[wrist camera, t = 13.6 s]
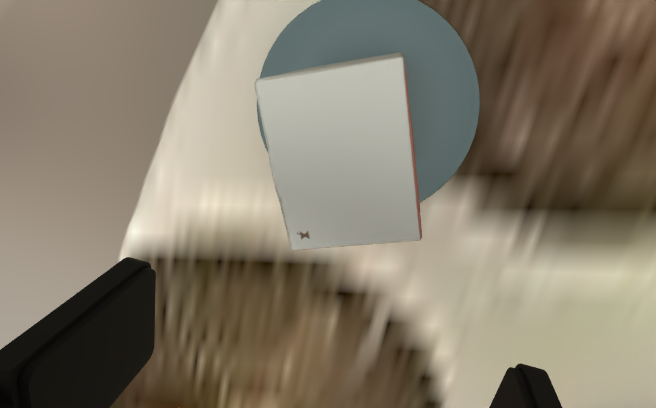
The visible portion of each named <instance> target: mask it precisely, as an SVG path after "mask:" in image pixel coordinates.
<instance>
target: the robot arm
mask: <svg viewBox="0 0 656 408" xmlns="http://www.w3.org/2000/svg"><path fill="white" fill-rule="evenodd" d="M155 279H156V274H155V271H154V270H153V269H151V265H150V263H148V262H145V261H141V260H137V259H134V258H130V257H127V258H125V259H123V260H122V261H120V262H119V263H117V264H116V265H115V266H113V267H112V268H111V269H110V270H108V271H107V272H105V273H104V274H103V275H101V276H100V277H98V278H97V279H96V280H94V281H93V282H92V283H90V284H89V285H88V286H86V287H85V288H84V289H82V290H81V291H80V292H78V293H77V294H76V295H74V296H73V297H71V298H70V299H69V300H67V301H66V302H65V303H63V304H62V305H61V306H59V307H58V308H57V309H55V310H54V311H52V312H51V313H50V314H48V315H47V316H46V317H44V318H43V319H42V320H40V321H39V322H37V323H36V324H35V325H33V326H32V327H31V328H29V329H28V330H27V331H25V332H24V333H23V334H21V335H20V336H18V337H17V338H16V339H14V340H13V341H12V342H11V343H9V344H8V345H6V346H5V347H4V348H2V349H1V350H0V408H109V407H110V406H111V405H112V404H113V403H114V401H115V400H116V399H117V398H118V397H119V395H120V394H121V393H122V392H123V391H124V389H125V388H126V387H127V386H128V385H129V383H130V382H131V381H132V380H133V379H134V377H135V376H136V375H137V374H138V373H139V371H140V370H141V369H142V368H143V367H144V365H145V364H146V363H147V362H148V360H149V359H150V357H151V355H152V353H153V350H154V328H155ZM489 408H562V406H561V404H560V401H559V399H558V397H557V395H556V392H555V390H554V388H553V385H552V383H551V381H550V378H549V376H548V374H547V373H546V371H544V370H542V369H539V368H535V367H531V366H528V365H524V364H518V365H517V366H516V367H515V368H512V367H510V368H508V370H507V371H506V374H505V376H504V378H503V380H502V382H501V384H500V386H499V388H498V390H497V393H496V395H495V397H494V399H493V401H492V403H491V405H490V407H489Z"/></svg>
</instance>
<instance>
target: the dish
mask: <svg viewBox="0 0 656 408" xmlns="http://www.w3.org/2000/svg"><path fill="white" fill-rule="evenodd" d="M398 52H401V53H402V55H403V58H404V61H405V70H406V77H407V86H408V96H409V106H410V114H411V122H412V131H413V141H414V151H415V160H416V170H417V180H418V192H419V203H420V202H421V201H423V200H425V199H426V198H428V197H429V196H431V195H432V194H434V193H435V192H436V191H437V190H439V189H440V188H441V187H442V186H443V185H444V184H445V183H446V182H447V181H448V180H449V179H450V178H451V177H452V176H453V175H454V173H455V172H456V171H457V169H458V168H459V166H460V165H461V164H462V162H463V160H464V158H465V156H466V155H467V153H468V151H469V149H470V146H471V144H472V141H473V139H474V136H475V132H476V128H477V124H478V117H479V108H480V99H479V86H478V80H477V74H476V71H475V68H474V65H473V61H472V59H471V57H470V55H469V52H468V50H467V48H466V46H465V44H464V43H463V41H462V40H461V38H460V37H459V35H458V34H457V32H456V31H455V30H454V29H453V28H452V27H451V26H450V24H449V23H448V22H447V21H446V20H445V19H444V18H443V17H441V16H440V15H439V14H438V13H437V12H435V11H434V10H433V9H431V8H430V7H428V6H426V5H425V4H423V3H421V2H420V1H418V0H321V1H319V2H317V3H316V4H314V5H312V6H310V7H309V8H307V9H306V10H305V11H303V12H302V13H300V14H299V15H298V16H297V17H296V18H295V19H294V20H293V21H292V22H290V23H289V24H288V25H287V27H286V28H285V29H284V30H283V31H282V33H281V34H280V35H279V36H278V38H277V39H276V41H275V43H274V44H273V46H272V48H271V49H270V51H269V54H268V56H267V58H266V60H265V63H264V65H263V69H262V72H261V75H260V78H264V77H269V76H275V75H280V74H284V73H289V72H293V71H298V70H302V69H306V68H311V67H316V66H322V65H327V64H333V63H339V62H345V61H350V60H356V59H362V58H368V57H374V56H380V55H386V54H392V53H398ZM257 113H258V122H259V127H260V132H261V136H262V138H263V141H264V144H265V147H266V149H267V151H268V148H267V143H266V138H265V134H264V129H263V124H262V120H261V115H260V110H259V105H258V100H257Z"/></svg>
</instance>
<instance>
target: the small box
mask: <svg viewBox="0 0 656 408" xmlns="http://www.w3.org/2000/svg"><path fill="white" fill-rule="evenodd" d="M255 90H256V94H257V100H258V105H259V110H260V115H261V120H262V124H263V129H264V134H265V138H266V143H267V148H268V153H269V159H270V166H271V171H272V176H273V180H274V184H275V188H276V192H277V195H278V198H279V201H280V205H281V210H282V214H283V218H284V223H285V226H286V230H287V235H288V239H289V244H290V248H291V250H293V251H296V250H305V249H316V248H330V247H343V246H356V245H368V244H380V243H393V242H404V241H418V240H421V238H422V230H421V218H420V204H419V192H418V180H417V170H416V160H415V151H414V141H413V131H412V122H411V114H410V106H409V96H408V86H407V77H406V70H405V61H404V58H403V55H402V53H401V52H398V53H392V54H386V55H380V56H374V57H368V58H362V59H356V60H350V61H345V62H339V63H333V64H327V65H322V66H316V67H311V68H306V69H302V70H298V71H293V72H289V73H284V74H280V75H275V76H269V77H264V78H259V79H256V81H255Z"/></svg>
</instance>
